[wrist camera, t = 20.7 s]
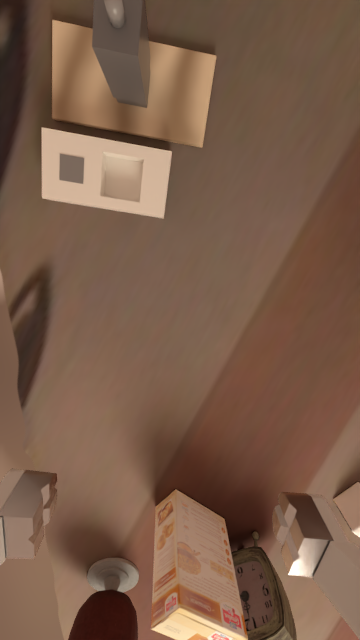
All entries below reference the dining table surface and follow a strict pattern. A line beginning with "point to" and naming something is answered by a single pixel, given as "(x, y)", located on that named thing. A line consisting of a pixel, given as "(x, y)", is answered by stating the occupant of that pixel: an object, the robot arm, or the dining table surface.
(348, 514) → the medicine bottle
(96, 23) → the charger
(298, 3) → the dining table surface
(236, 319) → the dining table surface
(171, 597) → the coffeecake box
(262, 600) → the tabletop clock
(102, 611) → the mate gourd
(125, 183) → the beige holder tray
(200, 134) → the oak board
